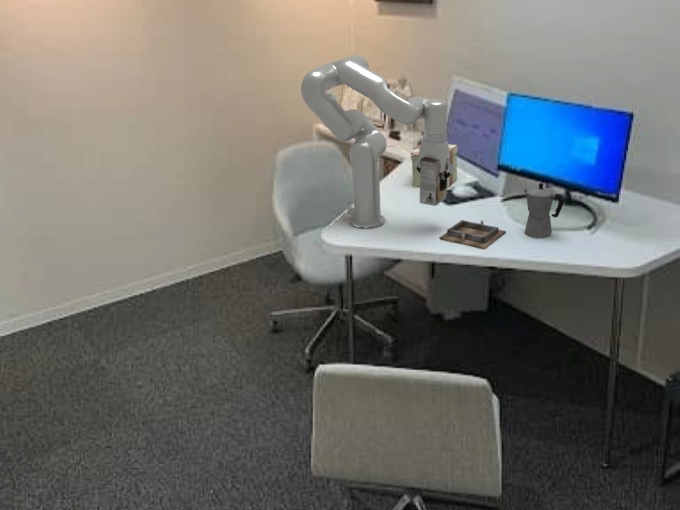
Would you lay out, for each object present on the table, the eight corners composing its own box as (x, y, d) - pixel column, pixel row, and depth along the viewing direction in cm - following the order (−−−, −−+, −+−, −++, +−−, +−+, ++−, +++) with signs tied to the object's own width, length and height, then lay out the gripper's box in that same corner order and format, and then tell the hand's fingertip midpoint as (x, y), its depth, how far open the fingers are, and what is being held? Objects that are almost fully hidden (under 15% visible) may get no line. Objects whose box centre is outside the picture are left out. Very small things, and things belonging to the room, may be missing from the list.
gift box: (416, 175, 312) (415, 136, 304) (458, 178, 305) (458, 138, 297) (403, 188, 297) (402, 147, 290) (447, 191, 290) (447, 150, 283)
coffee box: (430, 195, 256) (431, 151, 249) (447, 198, 253) (448, 154, 246) (418, 203, 249) (420, 158, 242) (435, 206, 246) (437, 161, 239)
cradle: (439, 239, 247) (439, 230, 245) (461, 224, 258) (461, 215, 257) (484, 249, 237) (484, 240, 236) (505, 233, 249) (506, 224, 247)
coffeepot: (513, 232, 249) (516, 183, 241) (529, 224, 254) (531, 176, 247) (553, 244, 238) (557, 192, 231) (568, 235, 244) (572, 185, 237)
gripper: (407, 136, 243) (406, 186, 251) (452, 143, 234) (450, 195, 241) (418, 130, 249) (417, 180, 256) (463, 138, 239) (461, 189, 247)
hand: (433, 187), depth 249 cm, fingers closed on coffee box, 6 cm apart
